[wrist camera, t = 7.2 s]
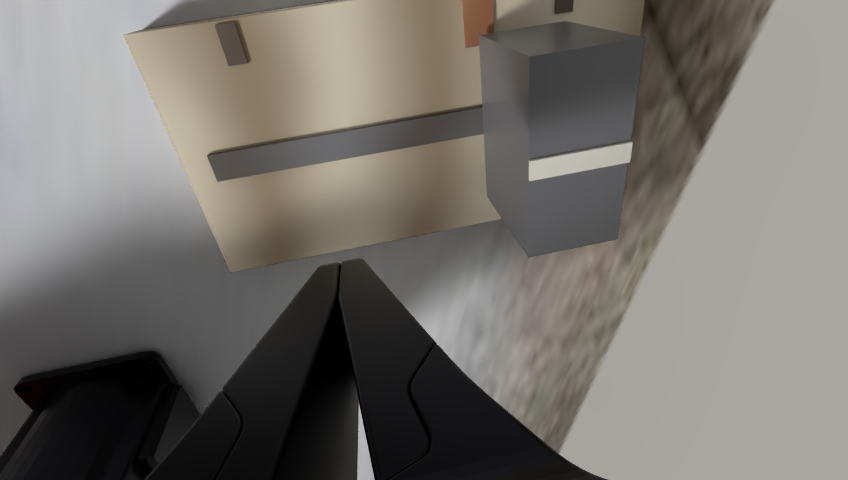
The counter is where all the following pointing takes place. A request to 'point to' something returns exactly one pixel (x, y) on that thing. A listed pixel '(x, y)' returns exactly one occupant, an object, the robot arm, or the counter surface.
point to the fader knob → (558, 130)
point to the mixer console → (338, 117)
